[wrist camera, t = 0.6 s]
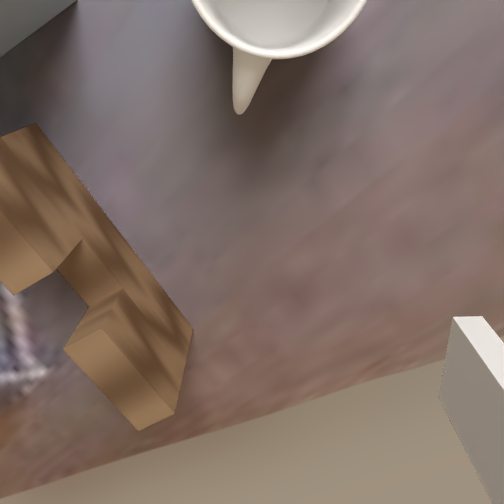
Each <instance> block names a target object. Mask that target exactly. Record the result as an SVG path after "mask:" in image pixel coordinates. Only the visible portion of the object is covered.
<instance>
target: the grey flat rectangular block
mask: <svg viewBox="0 0 504 504" xmlns="http://www.w3.org/2000/svg"><path fill="white" fill-rule="evenodd" d="M75 1H77V0H0V57H1V56H3V55H4V54H5V53H7V52H8V51H9V50H11V49H12V48H13V47H15V46H16V45H17V44H19V43H20V42H22V41H23V40H24V39H26V38H27V37H28V36H30V35H31V34H32V33H34V32H35V31H36V30H38V29H39V28H40V27H42V26H43V25H44V24H46V23H47V22H48V21H50V20H51V19H52V18H54V17H55V16H56V15H58V14H59V13H60V12H62V11H63V10H64V9H66V8H67V7H68V6H70V5H71V4H72V3H74V2H75Z"/></svg>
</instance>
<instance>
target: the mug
mask: <svg viewBox="0 0 504 504" xmlns="http://www.w3.org/2000/svg"><path fill="white" fill-rule="evenodd" d="M191 1H192V3H193V5H194V7H195V8H196V10H197V11H198V13H199V15H200V16H201V18H202V19H203V20H204V21H205V23H206V24H207V25H208V26H209V28H210V29H211V30H212V31H213V32H214V33H215V34H216V35H218V36H219V37H220V38H221V39H222V40H224V41H225V42H226V43H228V44H229V45H231V46H232V47H233V107H234V110H235V112H236V113H237V114H239V115H240V114H243V113H244V112H245V110H246V109H247V107H248V106H249V104H250V102H251V100H252V98H253V96H254V94H255V92H256V89H257V87H258V85H259V83H260V81H261V79H262V77H263V75H264V73H265V71H266V69H267V67H268V65H269V64H270V62H271V61H272V59H289V58H295V57H300V56H303V55H306V54H309V53H312V52H314V51H316V50H318V49H320V48H322V47H324V46H326V45H327V44H329V43H330V42H332V41H333V40H334V39H336V38H337V37H338V36H339V35H340V34H341V33H343V32H344V31H345V30H346V29H347V28H348V27H349V25H350V24H351V23H352V22H353V21H354V20H355V18H356V17H357V16H358V14H359V13H360V11H361V10H362V9H363V7H364V5H365V3H366V1H367V0H191Z"/></svg>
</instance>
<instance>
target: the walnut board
mask: <svg viewBox="0 0 504 504" xmlns="http://www.w3.org/2000/svg"><path fill="white" fill-rule="evenodd" d="M55 269H57V270H58V271H59V272H60V273H61V274H62V276H63V277H64V278H65V279H66V280H67V282H68V283H69V284H70V285H71V286H72V287H73V289H74V290H75V291H76V292H77V293H78V294H79V296H80V297H81V298H82V299H83V300H84V301H85V303H86V304H87V305H88V306H89V308H88V310H87V311H86V313H85V314H84V316H83V318H82V319H81V321H80V322H79V324H78V326H77V327H76V329H75V330H74V332H73V334H72V335H71V337H70V338H69V340H68V342H67V343H66V345H65V346H64V348H63V350H64V351H65V352H66V353H67V354H68V355H69V356H70V357H71V358H72V359H73V361H74V362H75V363H76V364H77V365H78V366H79V367H80V368H81V369H82V370H83V371H84V373H85V374H86V375H87V376H88V377H89V378H90V379H91V380H92V381H93V382H94V383H95V384H96V386H97V387H98V388H99V389H100V390H101V391H102V392H103V393H104V394H105V395H106V396H107V398H108V399H109V400H110V401H111V402H112V403H113V404H114V405H115V406H116V407H117V408H118V410H119V411H120V412H121V413H122V414H123V415H124V416H125V417H126V418H127V419H128V420H129V421H130V423H131V424H132V425H133V426H134V427H135V428H136V429H137V430H138V431H139V430H142V429H144V428H146V427H148V426H150V425H152V424H154V423H156V422H159V421H161V420H163V419H165V418H167V417H169V416H171V415H173V414H175V411H176V406H177V401H178V397H179V392H180V388H181V383H182V378H183V374H184V369H185V365H186V360H187V355H188V351H189V346H190V341H191V337H192V332H193V328H192V327H191V325H190V324H189V323H188V321H187V320H186V319H185V317H184V316H183V315H182V314H181V312H180V311H179V310H178V308H177V307H176V306H175V304H174V303H173V302H172V300H171V299H170V298H169V297H168V295H167V294H166V293H165V291H164V290H163V289H162V287H161V286H160V285H159V283H158V282H157V281H156V280H155V278H154V277H153V276H152V274H151V273H150V272H149V270H148V269H147V268H146V266H145V265H144V264H143V263H142V261H141V260H140V259H139V257H138V256H137V255H136V253H135V252H134V251H133V249H132V248H131V247H130V246H129V244H128V243H127V242H126V240H125V239H124V238H123V236H122V235H121V234H120V232H119V231H118V230H117V229H116V227H115V226H114V225H113V223H112V222H111V221H110V219H109V218H108V217H107V215H106V214H105V213H104V212H103V210H102V209H101V208H100V206H99V205H98V204H97V202H96V201H95V200H94V198H93V197H92V196H91V195H90V193H89V192H88V191H87V189H86V188H85V187H84V185H83V184H82V183H81V181H80V180H79V179H78V178H77V176H76V175H75V174H74V172H73V171H72V170H71V168H70V167H69V166H68V164H67V163H66V162H65V161H64V159H63V158H62V157H61V155H60V154H59V153H58V151H57V150H56V149H55V148H54V146H53V145H52V144H51V142H50V141H49V140H48V138H47V137H46V136H45V134H44V133H43V132H42V131H41V129H40V128H39V127H38V125H37V124H36V123H35V124H33V125H30V126H27V127H25V128H22V129H19V130H17V131H14V132H12V133H9V134H6V135H4V136H1V137H0V281H1V282H2V283H3V284H4V285H5V287H6V288H7V289H8V290H9V291H10V292H11V293H12V294H13V295H15V294H17V293H19V292H21V291H22V290H24V289H26V288H27V287H29V286H31V285H32V284H34V283H36V282H37V281H39V280H41V279H43V278H44V277H46V276H48V275H49V274H51V273H53V272H54V271H55Z"/></svg>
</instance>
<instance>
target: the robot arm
mask: <svg viewBox="0 0 504 504" xmlns="http://www.w3.org/2000/svg"><path fill="white" fill-rule="evenodd" d="M439 400H440V402H441V404H442V406H443V408H444V410H445V412H446V414H447V416H448V418H449V420H450V422H451V424H452V426H453V427H454V429H455V431H456V433H457V435H458V437H459V439H460V441H461V443H462V445H463V447H464V449H465V451H466V453H467V455H468V457H469V459H470V461H471V463H472V465H473V467H474V469H475V471H476V473H477V475H478V477H479V479H480V481H481V483H482V485H483V487H484V489H485V491H486V493H487V494H488V496H489V498H490V500H491V502H492V504H504V343H503V342H502V341H501V339H500V338H499V337H498V336H497V334H496V333H495V332H494V331H493V329H492V328H491V327H490V326H489V324H488V323H487V322H486V321H485V319H484V318H483V317H482V316H476V317H453V319H452V324H451V330H450V335H449V341H448V347H447V352H446V358H445V364H444V369H443V375H442V380H441V387H440V392H439Z"/></svg>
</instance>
